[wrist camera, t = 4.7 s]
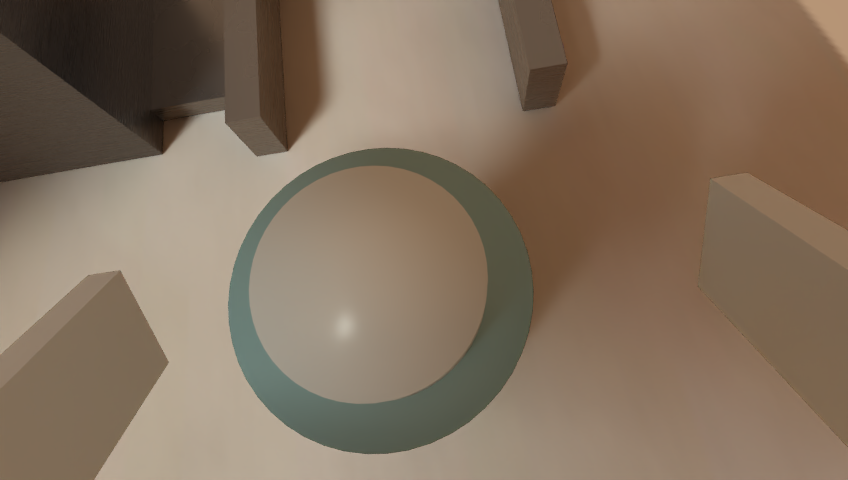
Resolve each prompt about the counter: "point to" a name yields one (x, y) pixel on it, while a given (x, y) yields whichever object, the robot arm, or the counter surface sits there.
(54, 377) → the robot arm
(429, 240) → the white-capped teal cylinder
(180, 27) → the grey flatbed stand
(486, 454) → the counter surface
